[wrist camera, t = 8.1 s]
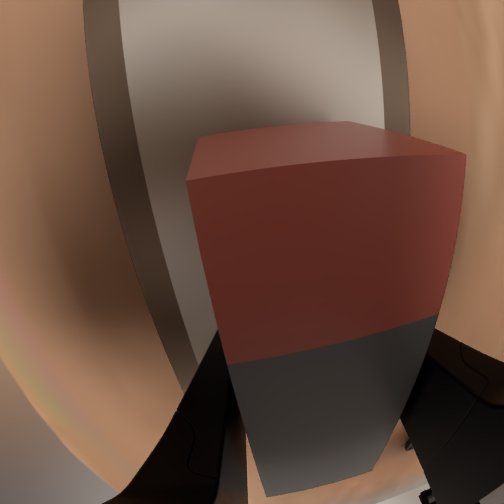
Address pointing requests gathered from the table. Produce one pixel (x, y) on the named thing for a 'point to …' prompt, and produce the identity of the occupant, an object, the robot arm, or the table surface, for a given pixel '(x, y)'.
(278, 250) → the red and gray block
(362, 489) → the table surface
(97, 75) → the board
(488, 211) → the table surface
